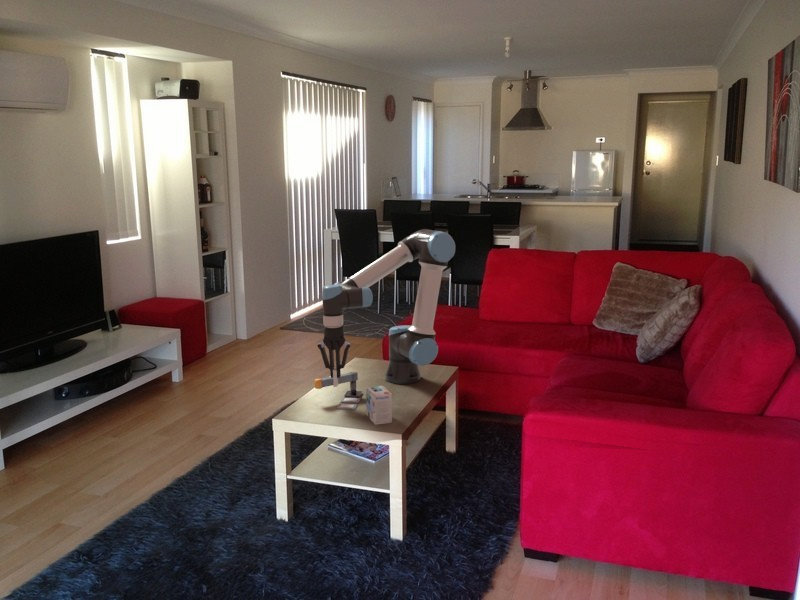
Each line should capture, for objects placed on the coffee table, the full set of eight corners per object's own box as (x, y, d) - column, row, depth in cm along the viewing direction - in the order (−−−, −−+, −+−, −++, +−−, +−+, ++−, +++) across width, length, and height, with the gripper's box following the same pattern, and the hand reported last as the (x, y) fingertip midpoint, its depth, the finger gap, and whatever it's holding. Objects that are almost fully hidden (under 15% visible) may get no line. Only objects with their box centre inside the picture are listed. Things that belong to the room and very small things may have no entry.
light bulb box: (365, 415, 258) (365, 387, 256) (383, 412, 260) (382, 385, 258) (375, 425, 248) (374, 396, 246) (393, 422, 250) (392, 393, 248)
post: (362, 393, 282) (361, 378, 281) (359, 398, 276) (359, 382, 275) (347, 393, 283) (347, 377, 281) (344, 398, 277) (344, 382, 275)
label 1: (360, 399, 275) (360, 397, 275) (358, 403, 271) (358, 402, 270) (343, 398, 276) (343, 397, 276) (340, 402, 271) (340, 401, 271)
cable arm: (359, 380, 278) (359, 372, 277) (317, 389, 267) (317, 381, 266) (354, 378, 280) (354, 370, 280) (313, 387, 270) (312, 379, 269)
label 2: (357, 405, 269) (357, 403, 268) (354, 409, 264) (354, 408, 264) (339, 404, 269) (339, 403, 269) (336, 408, 265) (336, 407, 264)
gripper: (352, 323, 269) (354, 383, 273) (319, 323, 271) (321, 382, 275) (348, 327, 262) (350, 388, 266) (314, 327, 263) (317, 388, 267)
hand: (336, 385), depth 270 cm, fingers closed
